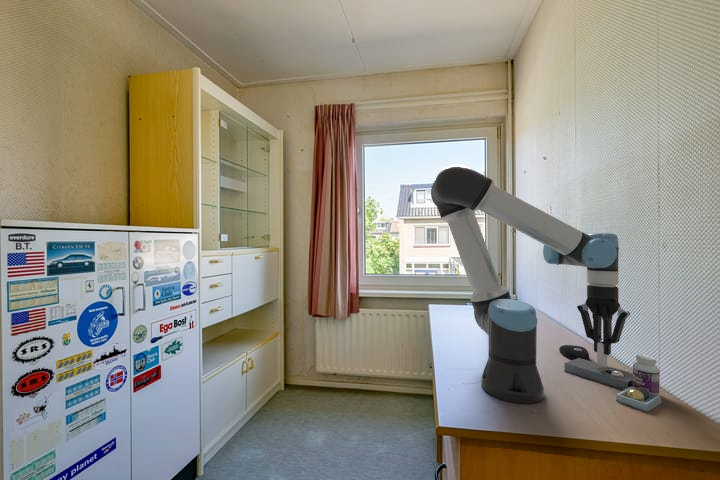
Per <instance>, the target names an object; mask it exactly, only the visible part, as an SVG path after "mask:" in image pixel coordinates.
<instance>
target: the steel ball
mask: <svg viewBox="0 0 720 480" xmlns="http://www.w3.org/2000/svg"><path fill="white" fill-rule="evenodd" d="M611 375H615V376H624V375H623V374H622V373H621V372H619V371H613V372H612V373H611Z"/></svg>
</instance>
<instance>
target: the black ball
mask: <svg viewBox="0 0 720 480" xmlns="http://www.w3.org/2000/svg"><path fill="white" fill-rule="evenodd" d="M636 390H639V391H640V392H641V393H642V394H643V396H644V399H648V398H649V392H648V391H647V390H646V389H645V388H642V387H638V388H636Z"/></svg>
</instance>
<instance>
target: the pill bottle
mask: <svg viewBox="0 0 720 480" xmlns="http://www.w3.org/2000/svg"><path fill="white" fill-rule="evenodd" d="M635 360H636V361H635V362H633V364H632V373H633V387H635V388H638V387H642V388H645V389H646V390H647V391H648V392H651V393H654V394H657V395H660V376H661V375H660V369H659V367H658V365H657V359H656V358H655V357H653V356H651V355H648V354H647V355H646V354H636V356H635ZM656 365H657V366H656Z"/></svg>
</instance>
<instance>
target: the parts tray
mask: <svg viewBox="0 0 720 480" xmlns="http://www.w3.org/2000/svg"><path fill="white" fill-rule="evenodd" d="M630 389H636V388H635V387H630V388H628V389H626V390H622V391H619V392H618V393H617V394H616V402H617V403H620V404H622V405H626V406H628V407H631V408H634V409H636V410H639V411H642V412H645V413H648V412H650V411H651V410H653V409H655V408H656V407H658V406H659V405H660V404H662V395H660V394H659V395H657V394H654V393H651V392H649V398H648V399H644V401H643V402H640V401H637V400H634V399H631V398H628V396H627V392H628V391H629V390H630Z"/></svg>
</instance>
